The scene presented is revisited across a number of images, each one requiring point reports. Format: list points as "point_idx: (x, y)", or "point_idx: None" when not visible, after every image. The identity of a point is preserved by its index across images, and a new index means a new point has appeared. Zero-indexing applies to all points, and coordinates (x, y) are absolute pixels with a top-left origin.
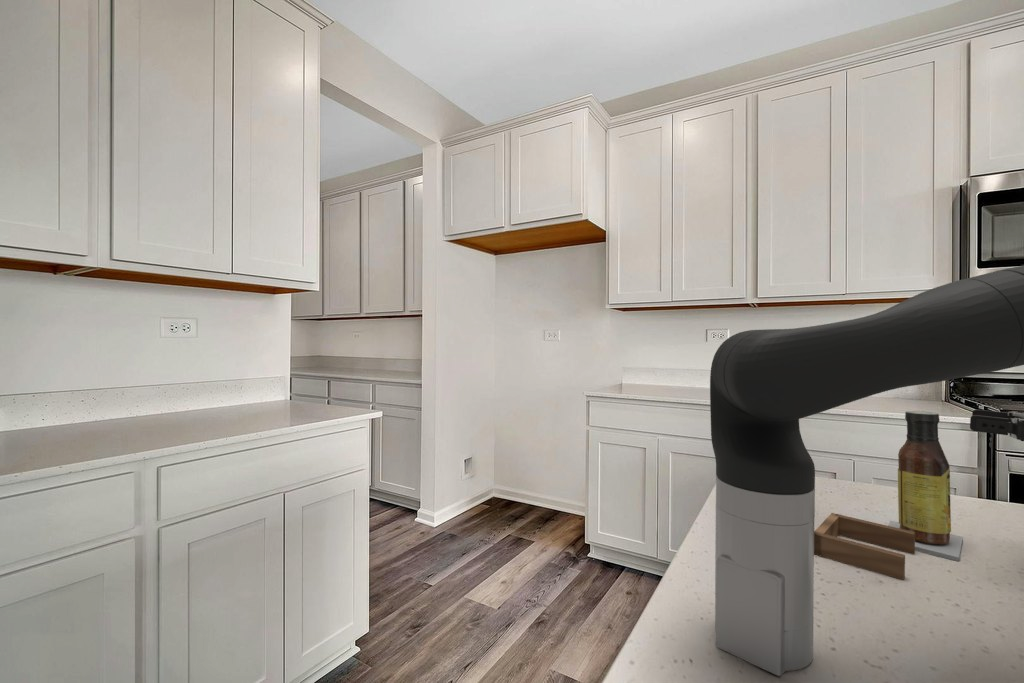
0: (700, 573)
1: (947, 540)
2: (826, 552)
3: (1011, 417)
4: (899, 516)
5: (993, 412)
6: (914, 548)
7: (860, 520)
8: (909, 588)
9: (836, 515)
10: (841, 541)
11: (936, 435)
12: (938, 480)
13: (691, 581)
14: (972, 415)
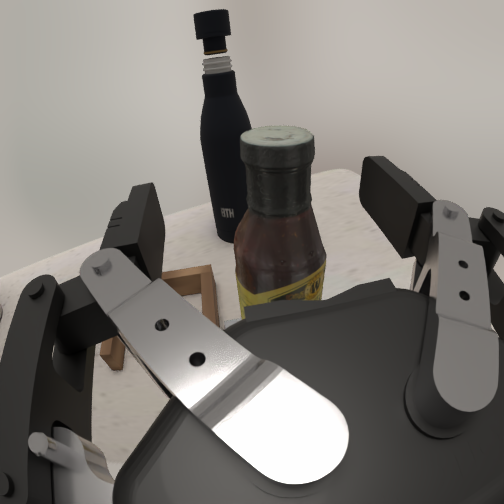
0: (41, 270)
1: None
2: None
3: (426, 227)
4: None
5: (394, 183)
6: None
7: (207, 290)
8: (96, 377)
9: (204, 270)
10: None
11: (274, 204)
12: (249, 298)
13: (29, 272)
14: (362, 173)
